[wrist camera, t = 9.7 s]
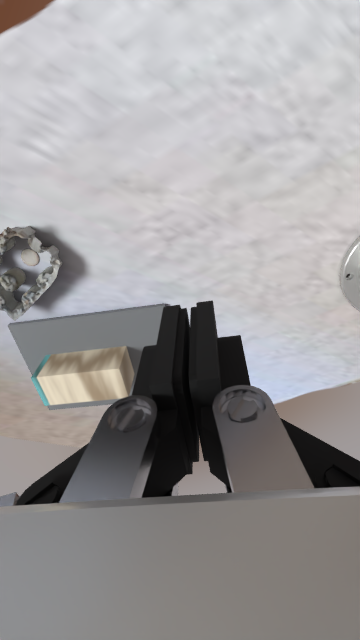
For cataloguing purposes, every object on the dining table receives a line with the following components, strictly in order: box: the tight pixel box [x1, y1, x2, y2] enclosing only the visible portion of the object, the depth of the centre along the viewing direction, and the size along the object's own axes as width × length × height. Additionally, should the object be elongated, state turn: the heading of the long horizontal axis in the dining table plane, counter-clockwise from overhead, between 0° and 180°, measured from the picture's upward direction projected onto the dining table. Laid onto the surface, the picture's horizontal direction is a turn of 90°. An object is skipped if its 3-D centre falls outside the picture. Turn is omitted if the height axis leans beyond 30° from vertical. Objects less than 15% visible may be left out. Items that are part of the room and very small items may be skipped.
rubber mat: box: [8, 304, 166, 410], centre depth 49 cm, size 22×16×1 cm
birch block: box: [31, 346, 134, 406], centre depth 47 cm, size 5×5×12 cm
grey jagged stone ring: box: [0, 226, 63, 321], centre depth 41 cm, size 11×8×4 cm
